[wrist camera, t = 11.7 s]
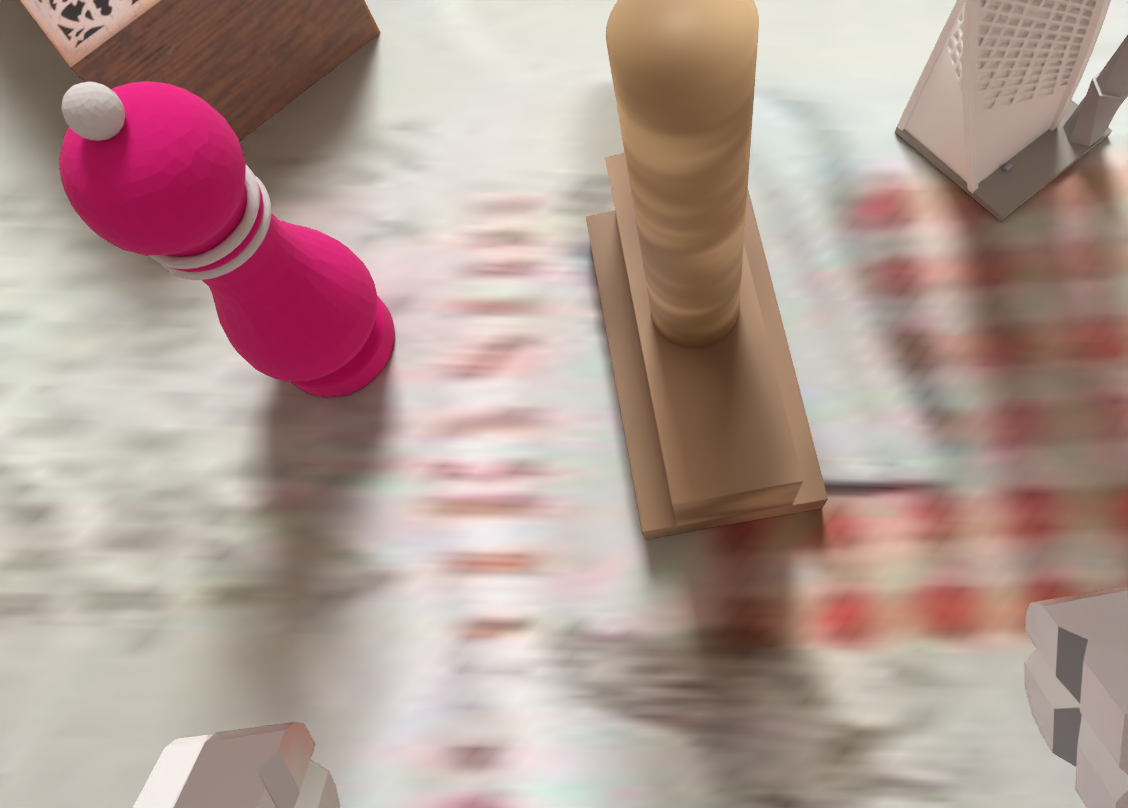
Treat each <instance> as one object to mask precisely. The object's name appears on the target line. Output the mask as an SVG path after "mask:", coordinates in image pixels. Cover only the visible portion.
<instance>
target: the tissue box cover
mask: <svg viewBox="0 0 1128 808" xmlns="http://www.w3.org/2000/svg"><path fill="white" fill-rule="evenodd" d="M20 1H21V3H22V4H23V5H24V7H25V8H26V9H27V11H28V12H29V13H30V15H31V16H32V17H33V19H34V20H35V21H36V23H37V24H38V25H39V26H40V28H41V29H42V30H43V32H44V33H45V34H46V36H47V37H48V38H49V40H50V41H51V42H52V44H53V45H54V46H55V48H56V49H57V50H58V52H59V53H60V54H61V56H62V57H63V58H64V60H65V61H66V62H67V64H68V65H69V66H70V68H71V69H72V70H73V71H74V72H75V73H76V74H77V75H79V76H80V77H81V78H82V79H83V80H84V81H85V82H95V83H99V84H103V85H105V86H107V87H108V88H109V89H113V88H115V87H118V86H122V85H125V84H129V83H134V82H144V81H148V82H159V83H166V84H170V85H174V86H177V87H180V88H183V89H185V90H187V91H189V92H191V93H193V94H195V95H197V96H198V97H200V98H201V99H203V100H204V101H206V102H207V103H208V104H209V105H210V106H212V107H213V108H214V109H215V110H216V111H217V112H218V113H219V114H220V115H222V116H223V117H224V118H225V120H226V121H227V123H228V124H229V126H230V127H231V128H232V130H233V131H234V133H235V134H236V136H237V137H238V139H239V141H240V140H242V139H243V138H244V137H246V136H247V135H248V134H249V133H251V132H252V131H253V130H255V129H256V128H257V127H259V126H260V125H261V124H262V123H264V122H265V121H266V120H268V119H269V118H270V117H272V116H273V115H274V114H275V113H277V112H278V111H279V110H281V109H282V108H283V107H284V106H286V105H287V104H288V103H290V102H291V101H292V100H294V99H295V98H296V97H297V96H299V95H300V94H301V93H303V92H304V91H305V90H307V89H308V88H309V87H310V86H312V85H313V84H314V83H316V82H317V81H318V80H320V79H321V78H322V77H323V76H325V75H326V74H327V73H329V72H330V71H331V70H333V69H334V68H335V67H336V66H338V65H339V64H340V63H342V62H343V61H344V60H346V59H347V58H348V57H349V56H351V55H352V54H353V53H355V52H356V51H357V50H359V49H360V48H361V47H362V46H364V45H365V44H366V43H368V42H369V41H370V40H372V39H373V38H374V37H375V36H377V35H378V34H379V33H380V31H379V29H378V27H377V25H376V23H375V21H374V19H373V17H372V15H371V13H370V11H369V9H368V7H367V5H366V3H365V1H364V0H20Z"/></svg>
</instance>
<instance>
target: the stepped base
mask: <svg viewBox="0 0 1128 808" xmlns="http://www.w3.org/2000/svg"><path fill="white" fill-rule="evenodd" d="M605 160H606V165H607V170H608V176H609V181H610V186H611V191H612V196H613V201H614V207H615V211H611V212H606V213H601V214H597V215H592V216H588V217H586V221H587V226H588V232H589V237H590V243H591V249H592V254H593V260H594V265H595V271H596V276H597V282H598V287H599V293H600V299H601V304H602V310H603V315H604V321H605V326H606V332H607V337H608V343H609V349H610V354H611V360H612V365H613V371H614V376H615V382H616V387H617V393H618V399H619V404H620V410H621V415H622V421H623V426H624V432H625V437H626V443H627V449H628V454H629V460H630V465H631V471H632V476H633V482H634V487H635V493H636V499H637V504H638V510H639V515H640V521H641V526H642V532H643V534H644V537H645V539H651V538H657V537H663V536H668V535H674V534H680V533H685V532H691V531H697V530H702V529H708V528H714V527H719V526H725V525H731V524H736V523H742V522H748V521H753V520H759V519H765V518H770V517H776V516H782V515H787V514H793V513H799V512H804V511H810V510H816V509H821V508H823V506H824V504H825V503H826V501H827V499H828V498H827V494H826V490H825V486H824V482H823V478H822V475H821V471H820V467H819V463H818V459H817V455H816V451H815V447H814V443H813V440H812V436H811V432H810V428H809V424H808V420H807V416H806V412H805V409H804V405H803V401H802V397H801V393H800V389H799V385H798V381H797V378H796V374H795V370H794V366H793V362H792V358H791V354H790V350H789V347H788V343H787V339H786V335H785V331H784V327H783V323H782V319H781V315H780V312H779V308H778V304H777V300H776V296H775V292H774V288H773V284H772V281H771V277H770V273H769V269H768V265H767V261H766V257H765V253H764V250H763V246H762V242H761V238H760V234H759V230H758V226H757V222H756V218H755V215H754V211H753V207H752V203H751V199H750V195H749V191H748V188H747V202H746V217H745V231H744V246H743V260H742V275H741V289H740V304H739V314H738V318H737V321H736V323H735V325H734V327H733V329H732V330H731V331H730V333H729V334H728V335H727V336H726V337H725V338H723V339H722V340H720V341H719V342H717V343H715V344H713V345H710V346H707V347H704V348H684V347H680V346H677V345H675V344H673V343H671V342H669V341H668V340H666V339H665V338H664V337H663V336H662V335H661V334H660V333H659V332H658V330H657V329H656V327H655V325H654V323H653V320H652V316H651V310H650V304H649V298H648V292H647V286H646V280H645V274H644V268H643V261H642V255H641V249H640V243H639V237H638V231H637V225H636V219H635V213H634V207H633V201H632V195H631V188H630V182H629V176H628V170H627V164H626V158H625V153H623V154H619V155H614V156H610V157H605Z"/></svg>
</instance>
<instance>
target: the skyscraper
mask: <svg viewBox="0 0 1128 808" xmlns="http://www.w3.org/2000/svg"><path fill="white" fill-rule="evenodd" d="M1110 1H1111V0H957V2H956V4H955V6H954V8H953V10H952V12H951V14H950V16H949V18H948V20H947V22H946V24H945V26H944V28H943V30H942V32H941V34H940V36H939V39H938V41H937V43H936V45H935V47H934V49H933V51H932V53H931V55H930V57H929V60H928V62H927V64H926V66H925V68H924V70H923V72H922V74H921V76H920V78H919V81H918V83H917V85H916V87H915V89H914V91H913V93H912V95H911V97H910V100H909V102H908V104H907V106H906V108H905V110H904V112H903V115H902V117H901V119H900V121H899V123H898V125H897V127H896V131H895V133H896V134H897V135H899V136H900V137H901V138H902V139H903V140H905V141H906V142H907V143H908V144H909V145H910V146H912V147H913V148H914V149H915V150H916V151H918V152H919V153H920V154H921V155H922V156H924V157H925V158H926V159H927V160H928V161H929V162H931V163H932V164H933V165H934V166H935V167H937V168H938V169H939V170H940V171H941V172H942V173H944V174H945V175H946V176H947V177H948V178H950V179H951V180H952V181H953V182H954V183H955V184H957V185H958V186H959V187H960V188H961V189H963V190H964V191H965V192H966V193H967V194H968V195H970V196H971V197H972V198H973V199H974V200H976V201H977V202H978V203H979V204H980V205H981V206H983V207H984V208H985V209H986V210H987V211H989V212H990V213H991V214H992V215H993V216H994V217H996V218H997V219H998V220H999V221H1000V222H1001V221H1002V220H1003V219H1004V218H1006V217H1007V216H1008V215H1010V214H1011V213H1012V212H1013V211H1015V210H1016V209H1017V208H1018V207H1020V206H1021V205H1022V204H1023V203H1025V202H1026V201H1027V200H1028V199H1030V198H1031V197H1032V196H1033V195H1035V194H1036V193H1037V192H1038V191H1040V190H1041V189H1042V188H1044V187H1045V186H1046V185H1047V184H1049V183H1050V182H1051V181H1052V180H1054V179H1055V178H1056V177H1057V176H1059V175H1060V174H1061V173H1062V172H1064V171H1065V170H1066V169H1067V168H1069V167H1070V166H1071V165H1072V164H1074V163H1075V162H1076V161H1078V160H1079V159H1080V158H1081V157H1083V156H1084V155H1085V154H1086V153H1088V152H1089V151H1090V150H1091V149H1093V148H1094V147H1095V146H1096V145H1098V144H1099V143H1100V142H1101V141H1103V140H1104V139H1105V138H1107V137H1108V136H1109V134H1110V133H1111V132H1112V130H1111V129H1109V128H1108V126H1109V124H1110V122H1111V120H1112V118H1113V116H1114V114H1115V113H1116V111H1117V109H1118V108H1119V106H1120V105H1121V104H1122V102H1123V101H1124V100H1125V99H1126V98H1127V97H1128V35H1127V37H1126V38H1125V39H1124V41H1123V42H1122V44H1121V45H1120V46H1119V48H1118V49H1117V51H1116V52H1115V53H1114V55H1113V56H1112V58H1111V59H1110V60H1109V62H1108V63H1107V64H1106V66H1105V67H1104V69H1103V70H1102V71H1101V72H1100V73H1099V74H1098V75H1096V76H1095V77H1094V78H1093V79H1092V81H1091V84H1090V87H1089V89H1088V92H1087V95H1086V96H1085V98H1084V99H1083V100H1082V102H1081V103H1080V104H1079V105H1077V104H1076V103H1075V102H1073V101H1072V100H1071V99H1072V97H1073V94H1074V92H1075V90H1076V88H1077V86H1078V84H1079V82H1080V79H1081V77H1082V75H1083V73H1084V70H1085V68H1086V66H1087V63H1088V61H1089V58H1090V56H1091V54H1092V51H1093V49H1094V46H1095V43H1096V41H1097V38H1098V35H1099V33H1100V30H1101V28H1102V25H1103V22H1104V19H1105V16H1106V13H1107V10H1108V7H1109V4H1110Z"/></svg>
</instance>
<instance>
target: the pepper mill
mask: <svg viewBox="0 0 1128 808" xmlns="http://www.w3.org/2000/svg"><path fill="white" fill-rule="evenodd" d="M61 109H62V113H63V117H64V119H65V121H66V123H67V124H68V126H69V127H68V129H67V132H66V134H65V136H64V138H63V143H62V148H61V153H60V158H59V161H60V174H61V180H62V184H63V187H64V190H65V192H66V194H67V196H68V198H69V200H70V202H71V204H72V206H73V208H74V209H75V211H76V212H77V213H78V214H79V216H80V217H81V218H82V220H83V221H84V222H85V223H86V224H87V225H88V226H89V227H90V228H91V229H92V230H93V231H94V232H96V233H97V234H98V235H99V236H100V237H102V238H104V239H105V240H107V241H108V242H110V243H112V244H114V245H115V246H117V247H119V248H121V249H123V250H127V251H131V252H135V253H139V254H143V255H149V256H150V257H151V258H152V259H153V260H155V261H156V262H158V263H160V264H161V265H162V266H163V267H164V268H165V269H166V270H168V271H169V272H171V273H173V274H174V275H176V276H179V277H181V278H186V279H191V280H202V281H203V282H204V283H206V284H207V285H208V286H209V288H210V290H211V292H212V294H213V298H214V302H215V306H216V310H217V314H218V317H219V321H220V324H221V326H222V328H223V330H224V332H225V333H226V335H227V337H228V339H229V341H230V343H231V344H232V346H233V347H234V348H235V350H236V351H237V352H238V353H239V354H240V355H241V356H242V357H243V358H244V359H245V360H246V361H247V362H248V363H250V364H251V365H252V366H253V367H254V368H255V369H256V370H258V371H260V372H262V373H264V374H266V375H267V376H270V377H273V378H275V379H280V380H284V381H290V382H292V383H293V384H294V385H296V386H297V387H298V388H300V389H301V390H303V391H305V392H307V393H309V394H311V395H316V396H320V397H338V396H344V395H348V394H350V393H353V392H355V391H357V390H359V389H361V388H363V387H364V386H366V385H367V384H368V383H370V382H371V381H372V380H373V379H374V378H375V377H376V376H377V375H378V374H379V373H380V371H381V370H382V369H383V368H384V366H385V365H386V363H387V361H388V359H389V357H390V354H391V351H392V349H393V344H394V324H393V320H392V317H391V314H390V312H389V310H388V308H387V307H386V305H385V304H384V303H383V302H382V301H381V299H380V298H379V297H378V296H377V293H376V288H375V284H374V281H373V279H372V277H371V275H370V273H369V270H368V269H367V268H366V266H365V265H364V263H363V262H362V261H361V260H360V259H359V258H358V257H357V256H356V255H355V254H354V253H353V252H352V251H351V250H350V249H349V248H348V247H346V246H345V245H343V244H342V243H341V242H339V241H338V240H336V239H334V238H332V237H330V236H328V235H325V234H323V233H321V232H319V231H317V230H314V229H310V228H307V227H302V226H298V225H294V224H290V223H287V222H284V221H280V220H278V219H277V218H276V217H275V216H274V215H273V214H272V213H271V202H270V197H269V194H268V192H267V190H266V188H265V186H264V184H263V183H262V182H261V181H260V180H259V178H258V177H256V176H255V175H254V174H253V172H252V171H251V170H250V168H249V167H248V166H247V165H246V163H245V159H244V155H243V152H242V149H241V145H240V142H239V139H238V137H237V136H236V134H235V133H234V131H233V130H232V128H231V127H230V126H229V124H228V123H227V121H226V120H225V118H224V117H223V116H222V115H220V114H219V113H218V112H217V111H216V110H215V109H214V108H213V107H212V106H210V105H209V104H208V103H207V102H206V101H204V100H203V99H201V98H200V97H198V96H197V95H195V94H193V93H191V92H189V91H187V90H185V89H183V88H180V87H177V86H174V85H170V84H166V83H159V82H148V81H144V82H134V83H129V84H125V85H122V86H118V87H115V88H113V89H109V88H108V87H107V86H105V85H103V84H99V83H95V82H83V83H79V84H76V85H73V86H72V87H71V88H70V89H69V90H67V92H66V93H65V95H64V96H63V100H62V106H61Z"/></svg>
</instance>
